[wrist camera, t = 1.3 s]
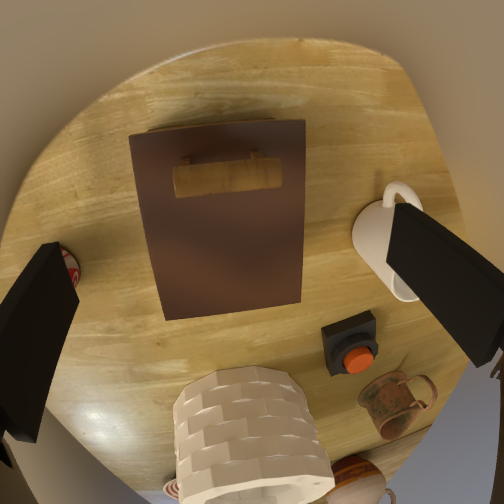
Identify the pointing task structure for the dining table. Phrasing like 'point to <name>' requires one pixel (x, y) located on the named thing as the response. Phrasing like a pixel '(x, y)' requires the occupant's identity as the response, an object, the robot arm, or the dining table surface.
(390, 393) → the mug
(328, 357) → the button base
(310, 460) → the basket
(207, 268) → the lid
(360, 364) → the button
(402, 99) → the dining table surface
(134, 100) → the dining table surface
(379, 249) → the mug
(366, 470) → the jug
